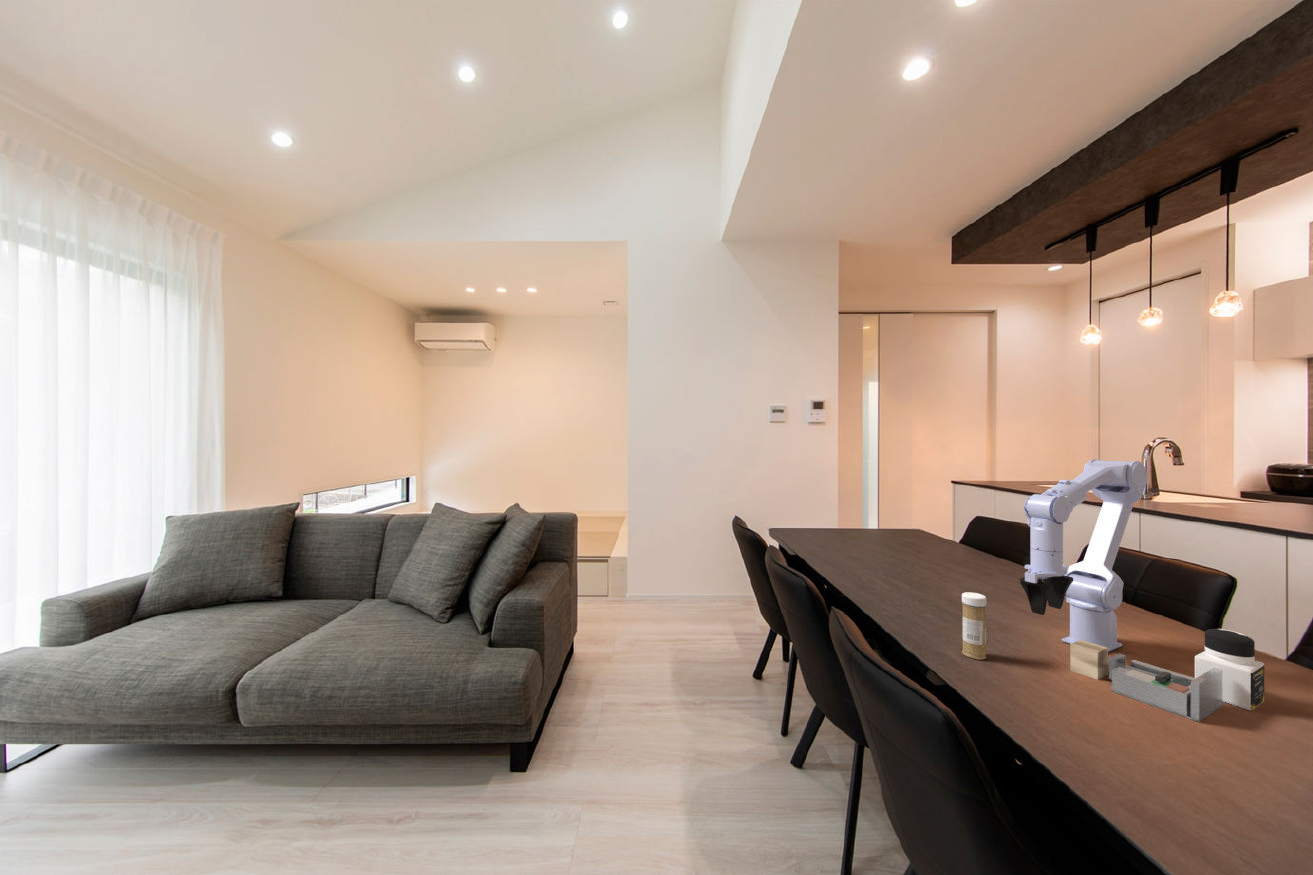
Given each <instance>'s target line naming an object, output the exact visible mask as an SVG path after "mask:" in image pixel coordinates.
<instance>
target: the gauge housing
mask: <svg viewBox="0 0 1313 875" xmlns="http://www.w3.org/2000/svg"><path fill="white" fill-rule="evenodd" d="M1129 666H1131V667H1134V668H1137V669H1141V670H1144V671H1147V672H1150V673H1153V674H1157V675H1158V674H1160V673H1162V672H1164V671H1165V672H1169V673H1171V679H1173V682H1170V681H1167V680H1165V681H1163V682H1158V681H1155V677H1154V676H1151V675H1148V674H1145V673H1141V672H1138V671H1135V670H1128V669H1124V668H1121V667H1117V668H1115V669H1113V670H1112V679H1111V692H1113V693H1116V694H1118V695H1121V696H1124V697H1127V698H1129V699H1132V700H1136V701H1138V702H1141V703H1143V704H1146V705H1149V706H1152V707H1155V708H1157V709H1161V710H1163V711H1166V712H1169V713H1171V714H1175V715H1178V716H1181V717H1183V718H1186V719H1189V720H1191V721H1194V722H1197V723H1200V722H1202V721H1203V720H1205V719H1206V718H1208V717H1209V716H1211V715H1212V714H1213V713H1215V712H1216V711H1217V710H1219V709H1220V708H1222V707H1223V702H1222V669H1218V668H1212V669H1211V670H1209V671H1207V672H1206V673H1204V674H1202V675H1201V676H1199V677H1197V678H1195V677H1192V676H1189V675H1186V674H1183V673H1179V672H1175V671H1173V670H1169V669H1165V668H1162V667H1159V666H1156V665H1152V664H1149V663H1146V662H1142V661H1139V660H1137V659H1133V660H1131V661H1130V665H1129ZM1211 713H1212V714H1211Z"/></svg>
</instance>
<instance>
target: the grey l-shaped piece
mask: <svg viewBox="0 0 1313 875" xmlns="http://www.w3.org/2000/svg"><path fill="white" fill-rule="evenodd" d="M1126 656H1127V655H1126V654H1123V653H1117V654H1114V655H1113V656H1110V657H1108V679H1110V680H1112V670H1113V669H1115V668H1117V667H1121V668H1124V669H1128V670H1135V671H1138V672H1141V673H1145V674H1148V675H1151V676H1154V677H1155V681H1158V682H1163V681H1165V680H1167V681H1170V682H1173V679H1171V673H1169V672H1165V671H1164V672H1162V673H1160V674H1158V675H1157V674H1153V673H1150V672H1147V671H1144V670H1141V669H1137V668H1134V667H1131V666H1130V665H1128V664H1127V663H1126V662H1127V661H1126V660H1127V657H1126Z"/></svg>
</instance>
